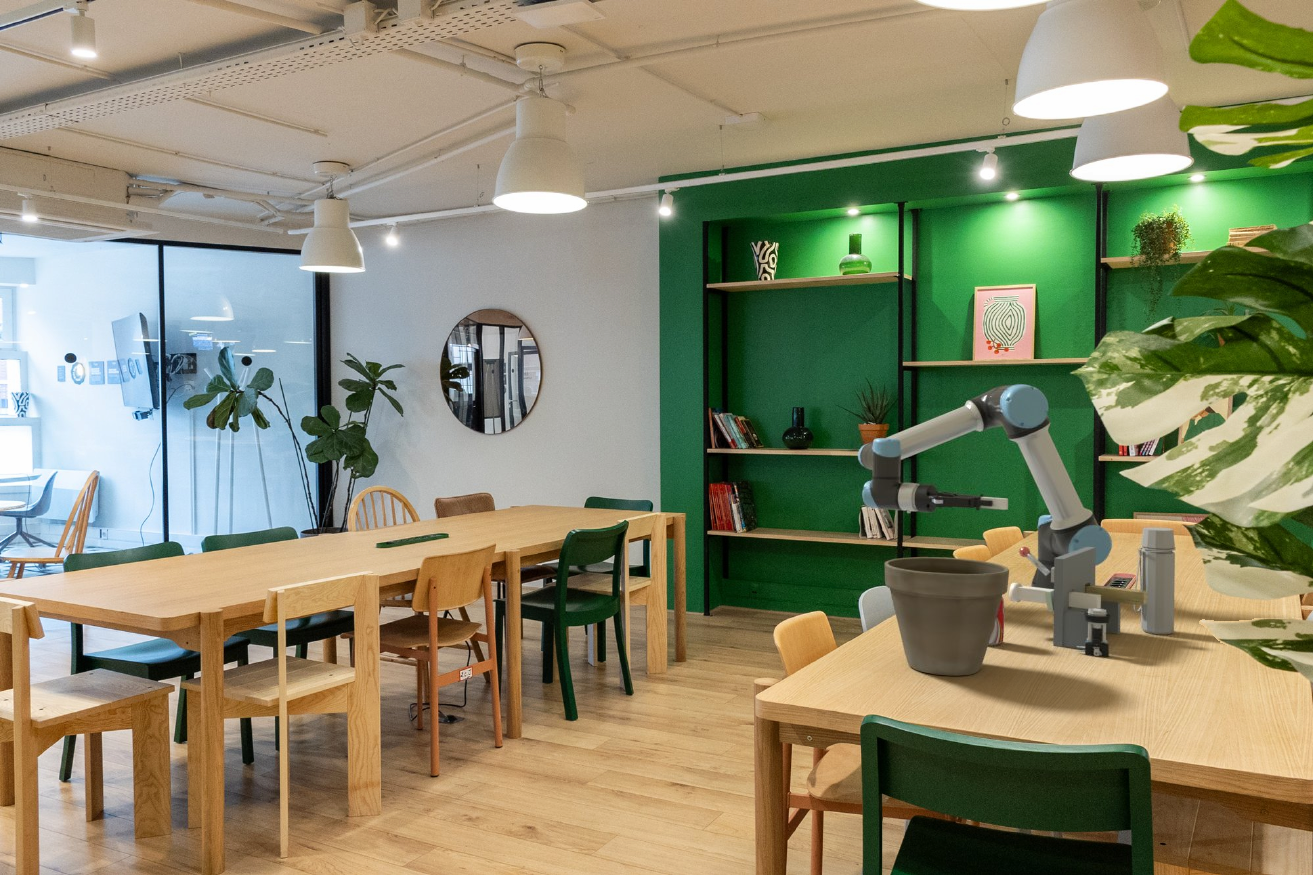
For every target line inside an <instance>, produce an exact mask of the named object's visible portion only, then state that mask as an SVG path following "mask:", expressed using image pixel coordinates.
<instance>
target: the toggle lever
mask: <svg viewBox="0 0 1313 875" xmlns="http://www.w3.org/2000/svg"><path fill="white" fill-rule="evenodd" d="M1018 552H1019V555H1020V556H1021V557H1023V558H1026V559H1027V560H1028V561H1029V562H1031V564H1032V565H1033V566H1035V567H1036V569H1037V568H1038V569H1039V570H1040V571H1041V572H1042V573H1043V574H1044V575H1046V576H1047V575H1048V574H1049V573H1050V571H1049V570H1048V569H1047V568H1046V567H1045V566H1044V565H1043V564H1042V563H1041V562H1039V561H1038V558H1036V557H1035V555H1033V554H1032V553H1031V550H1030V548H1029V547H1027V546H1022V547H1020V548H1019V551H1018Z"/></svg>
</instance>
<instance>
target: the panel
mask: <svg viewBox="0 0 1313 875" xmlns="http://www.w3.org/2000/svg"><path fill="white" fill-rule="evenodd" d="M1095 564H1096V547H1085V548H1082V549H1079V550H1076V551H1074V552H1071V553H1068V554H1065V555H1062V556H1059V557H1056V558H1054V567H1053V568H1051V582H1054V611H1053V629H1052V630H1053V636H1052V638H1053V639H1052V641H1053V644H1052V646H1053V647H1061V648H1063V647H1064V648H1069V649H1077V650H1083V651H1085V648H1080V647H1077V646H1084V647H1085V642H1086V641H1087V638H1088V621H1086V620H1085V615H1084V613H1085V612H1088V609H1084V608H1076V607H1069V591H1072V592H1080V593H1085V584H1089V585H1096V566H1095ZM1121 604H1122V603H1117V602H1108V601H1101V608H1100V609H1105V610H1106V613H1107V614H1110V615H1111V617H1110V618H1109V622H1108V623H1106V634H1107V633H1108V634H1115V635H1118V634H1120V633H1121V612H1122V611H1121V610H1122V608H1121V607H1122V606H1121ZM1092 627H1093V624H1091V641H1090V642H1092ZM1101 628H1102V633H1103V625H1101Z"/></svg>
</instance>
